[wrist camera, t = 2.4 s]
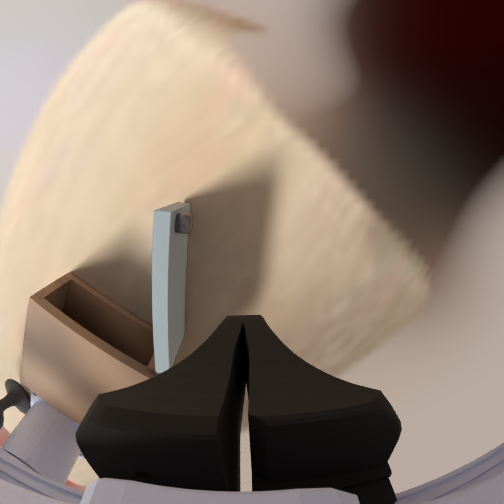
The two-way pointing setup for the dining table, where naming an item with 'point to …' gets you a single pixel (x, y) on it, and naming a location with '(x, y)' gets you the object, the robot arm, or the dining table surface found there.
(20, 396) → the sundae
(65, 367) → the cabinet
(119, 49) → the dining table surface
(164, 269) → the door
